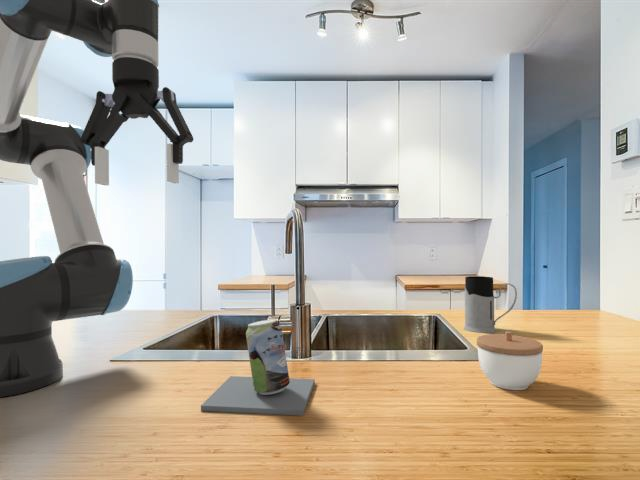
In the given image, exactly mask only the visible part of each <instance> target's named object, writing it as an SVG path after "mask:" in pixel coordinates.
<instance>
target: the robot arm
mask: <svg viewBox="0 0 640 480" xmlns="http://www.w3.org/2000/svg"><path fill="white" fill-rule="evenodd" d="M159 8H160V4H159V0H105V1H104V2H103V3H100V2H97V1H96V0H0V161H2V162H8V163H13V164H21V165H27V166H28V165H29V166H30V170H31V172H32V173H33V174H34V176H36V177H37V178H38V179H39V180H41V181H42V185H43V189H44V194H45V199H46V202H47V205H48V209H49V214H50V218H51V222H52V225H53V230H54V234H55V238H56V243H57V246H58V249H59V254H58V255H57V256H56V257H55V259H54V262H53V260H52V258H51V257H50V256H49V255H40V256H31V257H22V258H14V259H13V258H12V259H6V260H2V261H0V398H1V397H2V398H3V397H9V396H14V395H19V394H23V393H24V394H25V393H27V392H28V393H29V392H31V391H35V390H37V389H41V388H44V387H47V386H49V385H51V384H53V383H55V382H58V381H59V380H60V379H62V377H63V376H64V373H63V372H64V369H63V368H64V367H63V364H64V363H63V361H62V360H61V359H60V358H59V354H58V351H57V347H56V345H55V342H54V339H53V334H52V331H53V330H52V329H53V328H52V327H53V326H52V325H53V322H57V321H58V322H59V321H66V320H73V319H79V318H87V317H94V316H105V315H106V314H111V313H116V312H120V311H122V310H124V308H125V307H126V306H127V305H128V302H129V300H130V298H131V295H132V290H133V285H134V284H133V283H134V280H133V279H134V278H133V277H134V276H133V270H132V267H131V264H130V262H129V261H127V260H126V259H122V258H120V259H117V257H116V254H115V251H114V249H113V248H112V247H111V246H109V245H107V244H105V243H104V240H103V237H102V234H101V229H100V226H99V224H98V220H97V218H96V215H95V210H94V207H93V204H92V201H91V197H90V194H89V191H88V188H87V184H86V181H85V178H84V175H83V174H85V172H86V170H87V169H88V168H89V166H90V164H91V165H92V166H94V184H96V185H103V186H110V167H109V166H110V157H109V156H110V155H109V154H110V153H109V152H110V151H109V149H106V146H107V145H108V144H109V142H110V141H111V140H112V138H113V137H114V136H115V134H116V133H117V132H118V131H119V129H120V128H121V126H122V125H123V124H124V123H126V122H127V121H128V120H129V119H131V120H132V119H133V120H134V119H139V118H142V119H148V118H149V117H150V118H151V119H152V121H154V123H155V124H156V125H157V126H158V127H159V129H160V130H161V131H162V133H164V135H165V136H166V137H167V139H168V140H169V142H170V143H166V181H167V182H169V183H173V184H179V183H180V179H179V178H180V177H179V175H180V174H179V172H180V171H179V170H180V169H179V166H180V165H182V164H183V162H184V145H185V144H188V143H193V142H194V137H193V135H192V131H190V129H189V126H188V123H187V122H186V120H185V118H184V116H183V114H182V112H181V110H180V108H179V106H178V104H177V97H176V93H175V92H174V91H173V90H172V89H170V88H168V87H167V86H165V87H163V88H162V90H159V88H160V85H159V84H160V81H159V80H160V77H159V73H160V70H159ZM52 32H54V33H59V34H61V35H62V36H63V35H64V36H67V37H70V38H72V39H75V40H79V41H81V42H82V43H84V45H85V47H86V48H87V49H89V50H90V51H91V52H93V53H94V55H97V56H99V57H103V58H111V59H112V60H113V61H112V63H111V66H112V69H111V70H112V71H111V72H112V74H111V79H112V83H113V87H114V89H113V92H112V93H105V92H104V91H101V90H98V91H97V92H96V96H95V97H96V98H95V105H94V106H93V109H92V111H91V113H90V116H89V118H88V121H87V122H86V125H85V128H84V129H83V128H82V127H80V126H78V125H74V124H70V123H68V122H65V121H64V122H63V121H60V122H59V121H54V120H50V119H44V118H39V117H36V116H35V117H34V116H30V115H24V114H21V113H20V110H21V108H22V105H23V103H24V100H25V98H26V96H27V95H26V94H27V92H28V90H29V87H30V84H31V83H32V81H33V78H34V74H35V72H36V70H37V67H38V64H39V63H40V60H41V57H42V55H43V51H44V50H45V47H46V45H47V43H48V40H49V38H50V36H51V33H52ZM160 101H161V102H163V103H164V105H165V107H166V110H167V112H168V113H169V116H170V118H171V119H172V120H171V121H172V122H173V123H174V126H175V129H176V130H177V131H175V129H174V128H173V127H172V126H171V124H170V123H169V122H168V121H167V120H166V118H165V117H164V116H163V114H162V112H160V111H159V109H158V108H157V105H158V104H159V103H160ZM120 112H121V113H120ZM179 164H180V165H179Z"/></svg>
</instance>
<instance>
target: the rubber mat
mask: <svg viewBox="0 0 640 480" xmlns="http://www.w3.org/2000/svg"><path fill="white" fill-rule="evenodd" d="M289 381H290V383H289V384H288V385H287V386H286V388H285V389H284V390H283V391H281V392H278V393H275V394H270V395H262V394H260V393H259V392H256V391H255V390H254V386H253V379H252V376H240V375H239V376H236V375H235V376H234V375H231V376H229V377H228V378H227V379H226V380H225V381H224V382H223V383H222V384H221V385H220V386H219V387H218V388H216V390H215V391H214V392H213V393H212V394H211V395H210V396H209V397H208V398H207V399H206V400H205V401H204V402H202V404H201V405H200V411H201V412H220V413H221V412H222V413H239V414H241V413H242V414H259V415H279V416H282V415H283V416H284V415H285V416H302V417H303V416H304V413H305V410H306V407H307V405H308V403H309V400H310V397H311V394H312V391H313V389H314V386H315V382H316V381H315V378H294V377H293V378H291V377H289Z"/></svg>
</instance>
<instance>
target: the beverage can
mask: <svg viewBox="0 0 640 480" xmlns="http://www.w3.org/2000/svg"><path fill="white" fill-rule="evenodd" d="M247 327H248V328H247V330H246V332H245V336H246V344H247V350H248V358H249V366H250V372H251V377H252V379H253V386H254V390H255V391H256V392H259V393H260V394H262V395H270V394H275V393H278V392H281V391H283V390H284V389H285V388H286V386H287V385H288V384H289V383H290V381H289V378H290V375H289V369H288V363H287V356H286V350H285V349H286V348H285V343H284V335H283V329H282V325H280V323H279V322H278V320H277V318H276V319H275V318H272V319H271V318H270V319H262V320H258V321H253V322H251V323H248V324H247Z"/></svg>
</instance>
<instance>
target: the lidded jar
mask: <svg viewBox="0 0 640 480" xmlns="http://www.w3.org/2000/svg"><path fill="white" fill-rule="evenodd" d="M512 333H513V332H512V331H505V334H504V333H503V334H501V333H495V334H493V333H488V334H483V335H481V336H478V337H477V338H476V345H477V357H478V358H477V359H478V364H479V366H480V368H481V371H482V372H483V373H482V374H484V376H486V378H487V379H488V380H489V381H490V384H491V385H493V386H495V387H498V388H499V389H504V390H508V391H523V390H526V389H529V386H530V385H531V384H534V382H535V381H536V380H537V379H538V378H539V375H540V373H541V369H542V363H543V351H544V348H543V347H544V345H543V343H541V342H540V341H538V340H535V339H533V338H530V337H525V336H522V335H514V334H512Z"/></svg>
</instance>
